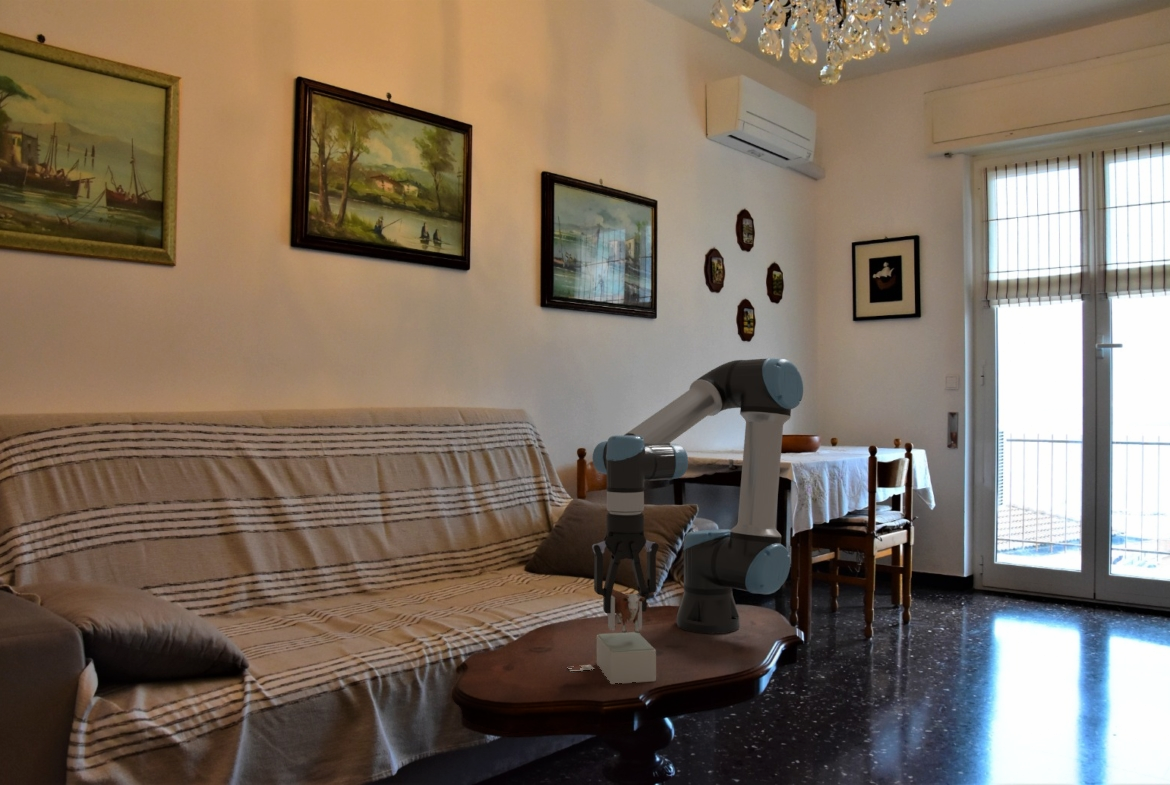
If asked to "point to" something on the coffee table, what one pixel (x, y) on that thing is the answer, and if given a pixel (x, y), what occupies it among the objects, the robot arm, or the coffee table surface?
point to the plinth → (626, 658)
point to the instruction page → (583, 668)
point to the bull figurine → (627, 608)
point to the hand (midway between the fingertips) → (624, 628)
